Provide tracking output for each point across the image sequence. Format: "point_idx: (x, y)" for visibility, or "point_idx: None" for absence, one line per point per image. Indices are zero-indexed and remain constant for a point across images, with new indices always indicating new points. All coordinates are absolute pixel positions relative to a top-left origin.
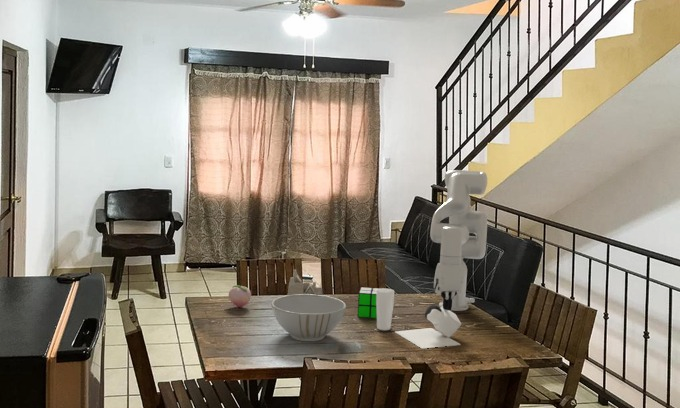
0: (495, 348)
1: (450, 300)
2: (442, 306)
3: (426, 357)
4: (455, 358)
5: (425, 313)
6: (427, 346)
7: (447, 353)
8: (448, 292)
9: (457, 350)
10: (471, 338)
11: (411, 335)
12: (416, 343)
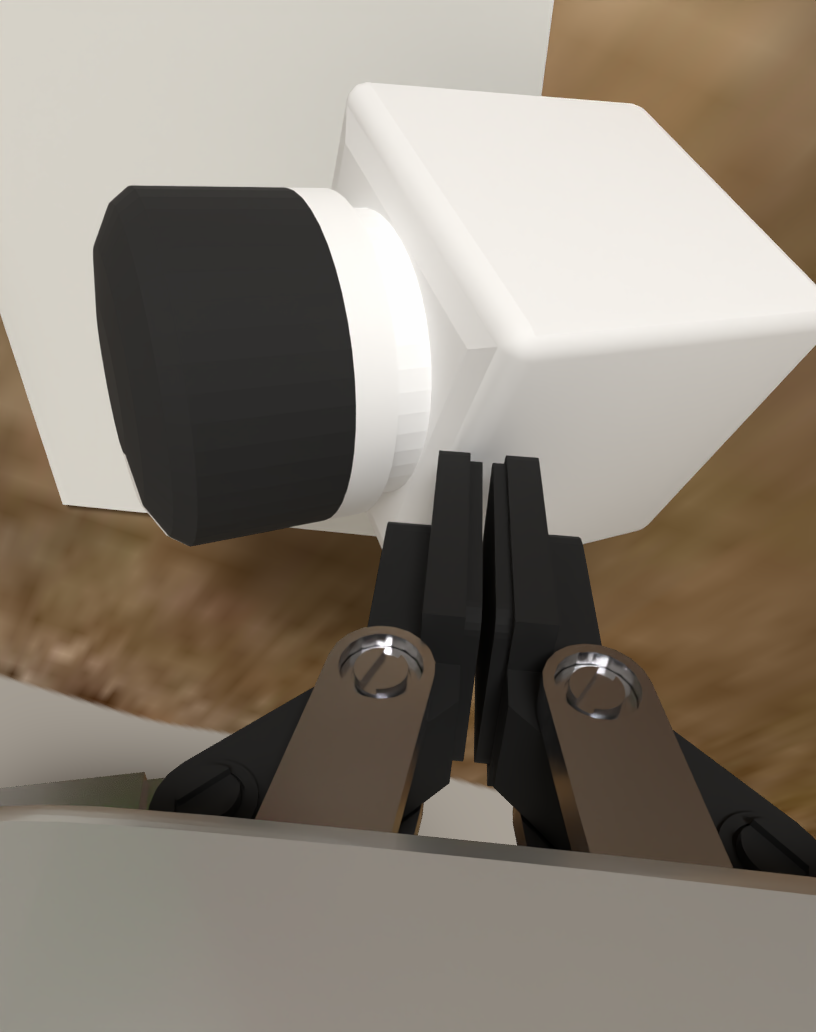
0: (704, 690)
1: (483, 762)
2: (502, 362)
3: (51, 628)
4: (253, 704)
5: (93, 259)
6: (130, 486)
7: (245, 630)
8: (571, 831)
9: (363, 616)
10: (762, 438)
11: (61, 88)
12: (45, 381)
